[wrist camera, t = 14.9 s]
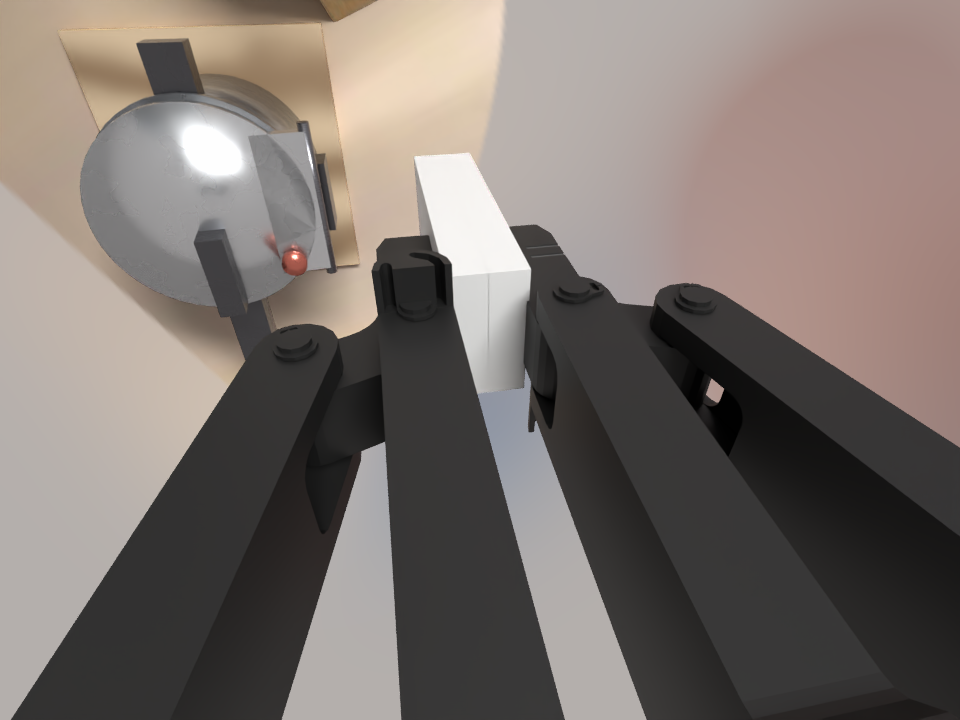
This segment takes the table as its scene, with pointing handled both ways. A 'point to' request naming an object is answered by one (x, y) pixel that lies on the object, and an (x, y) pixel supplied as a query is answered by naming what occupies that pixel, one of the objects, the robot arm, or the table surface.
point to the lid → (206, 203)
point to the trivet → (235, 52)
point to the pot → (181, 81)
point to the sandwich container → (343, 7)
